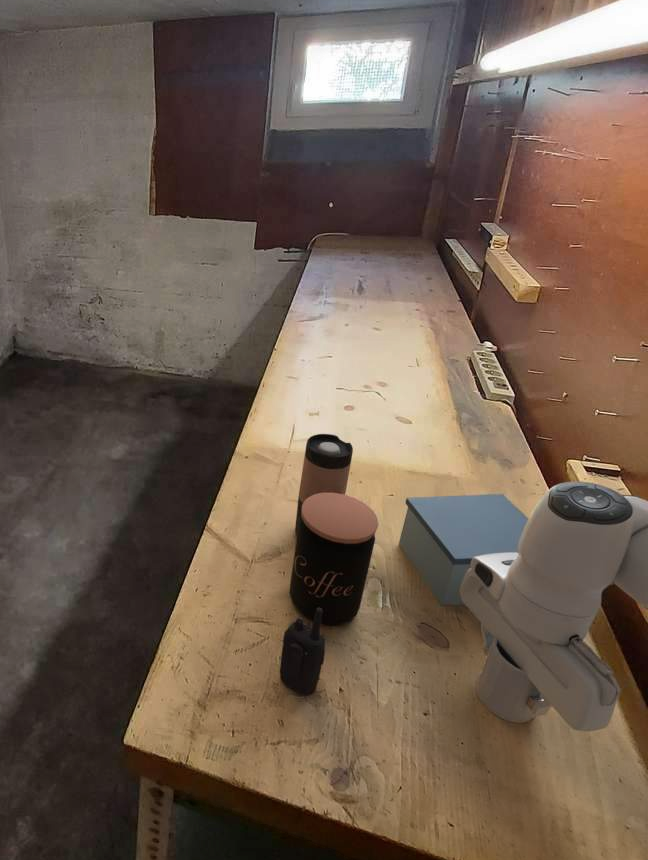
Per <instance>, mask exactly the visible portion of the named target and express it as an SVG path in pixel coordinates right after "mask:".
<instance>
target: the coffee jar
mask: <svg viewBox="0 0 648 860" xmlns="http://www.w3.org/2000/svg"><path fill="white" fill-rule="evenodd" d="M378 520H379V519H378V516H377V515H376V513H375V511H374V510H373V509H372V508H371V507H369V506H368V505H367V504H366V503H365V502H363V501H361V500H359V499H357V498H355V497H353V496H350V495H347V494H345V495H344V494H338V493H319V494H315V495H312V496H310V497H309V498H307V499H306V500H305V501H304V503H303V504H302V510H301V517H300V520H299V526H298V533H297V537H296V540H295V548H294V555H293V561H292V567H291V568H292V569H291V575H290V581H289V597H290V599H291V602H292V604H293V605H294V606H295V608H296V609H297V611H298V612H299V613H300V614H301V615H302V616H304V617H305V618H306V619H308V620H309V621H311V622H314V617H315V613H316V609H317V608H321V609H322V610H323V612H322V620H321V626H322V625H323V626H327V627H337V626H338V627H339V626H341V625H344V624H346V623H350V622H351V621H352V620H353V619H354V618H355V617H356V616H357V615H358V613H359V611H360V608H361V604H362V599H363V595H364V592H365V591H364V590H365V586H366V582H367V577H368V574H369V568H370V564H371V559H372V556H373V552H374V551H373V550H374V547H375V542H376V531H377V530H378V528H379V521H378Z"/></svg>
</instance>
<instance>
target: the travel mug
mask: <svg viewBox="0 0 648 860" xmlns="http://www.w3.org/2000/svg"><path fill="white" fill-rule="evenodd" d="M353 452H354V447H353V445H352V443H351V442H345V441H343V440H342V439H340V437H339V436H338V435H335V434H331V433H317V434H314V435H312V436H310V437H308V439H307V440H306V445H305V451H304V458H303V464H302V470H301V477H300V482H299V490H298V497H297V507H296V518H295V526H294V527H295V529H294V531H295V532H294V533H295V537H296V538H297V533H298V526H299V520H300V517H301V510H302V504H303V503H304V501H305V500H306V499H307V498H309V497H310V496H312V495H315V494H319V493H338V494H344V495H346V493H347V487H348V482H349V476H350V471H351V470H350V469H351V464H352V457H353Z"/></svg>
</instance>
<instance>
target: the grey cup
mask: <svg viewBox="0 0 648 860" xmlns="http://www.w3.org/2000/svg"><path fill="white" fill-rule="evenodd" d="M485 656H486V657H485V659H484V661H483V664H482V667H481V668H480V671H479V674H478V677H477V678H476V679H477V680H476V683H475V692H476V693H475V694H476V695H477V698H478V699H479V701H480V702H481V703H482V705H483V706H484V707H485V708H486V709H487V710H488V711H489V712H491V713H492V714H493V715H495V716H497V717H499V718H500V719H503V720H504V721H508V722H510V723H517V724H524V723H527V722H529V721H531V720H532V719H533V718H534V716H535V715H534V713H533V712H532V711H531V710H530V708H529V707H528V706H527V705H526V702H528V698H529V696H537V695H540V694H541V692H540V691H539V690H538V689H537V688H536V687H535V685H534V684H533V683H532V682H531V681H530V680H529V678H528V675H527V673H526V672H525V671H523V670H521V669H520V668H519V667H518V666H517V664H516V663H515V662H514V661H513V660H512V658H511V657H510V656H509V655H508V654H507V653H506V651H505V650H504V649H503V648H502V647H501V646H500V644H499V643H498V642H497V639H496V637H494V638H493V641H492V643H491V646H490V648H489V651H488V654H487V655H485Z"/></svg>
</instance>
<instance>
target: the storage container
mask: <svg viewBox="0 0 648 860" xmlns="http://www.w3.org/2000/svg"><path fill="white" fill-rule="evenodd" d="M405 505H406V506H407V509H406V513H405V518H404V521H403V525H402V529H401V533H400V536H399V540H398V545H399V547H400V549H401V550H402V551H403V553H404V555H406V557H407V558H408V560H409V561H410V563H411V565H413V567H414V568H415V570H416V571H417V573H418V575H419V576H420V578H421V579H422V580H423V582H424V583H425V585H426V586H427V587H428V589H429V590H430V592H431V593H432V594H433V596H434V598H435V599H436V600H437V602H438V603H439V605H440V606H459V605H465V604H464V602H463V601H462V598H461V594H460V587H461V584H462V581H463V579H464V576H465V574H466V572H467V571H468V569H470V568H471V560H472V558H473V557H476V556H480V555H486V554H493V553H509V552H516V553H518V543H519V540H520V537H521V535H522V532H523V530H524V527H525V525H526V523H527V521H528V519H529V517H528V516H526V514H524V512H522V510H520V508H518V507H517V506H516V505H515V504H514V503H513V502H512V501H511V500H510V499H509V498H508V497H506V495H504V494H503V493H490V494H489V493H488V494H464V495H443V496H417V497H414V496H413V497H406V500H405Z"/></svg>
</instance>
